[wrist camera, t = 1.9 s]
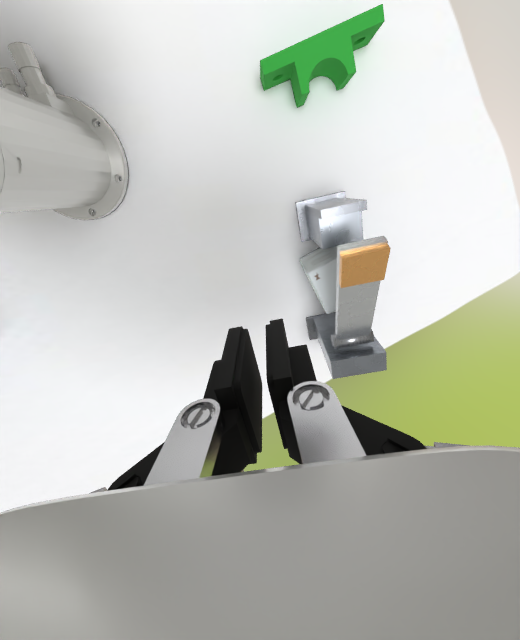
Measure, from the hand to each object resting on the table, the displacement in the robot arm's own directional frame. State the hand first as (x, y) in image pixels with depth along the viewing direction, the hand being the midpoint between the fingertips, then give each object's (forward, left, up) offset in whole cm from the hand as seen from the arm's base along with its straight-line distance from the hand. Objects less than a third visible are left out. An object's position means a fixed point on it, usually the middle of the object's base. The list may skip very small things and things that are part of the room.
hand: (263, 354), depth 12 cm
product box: (+5, +8, -27) cm, 29 cm away
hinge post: (+13, +8, -27) cm, 31 cm away
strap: (+5, +8, -15) cm, 18 cm away
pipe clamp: (-16, +9, -28) cm, 33 cm away
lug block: (-1, +8, -27) cm, 28 cm away
